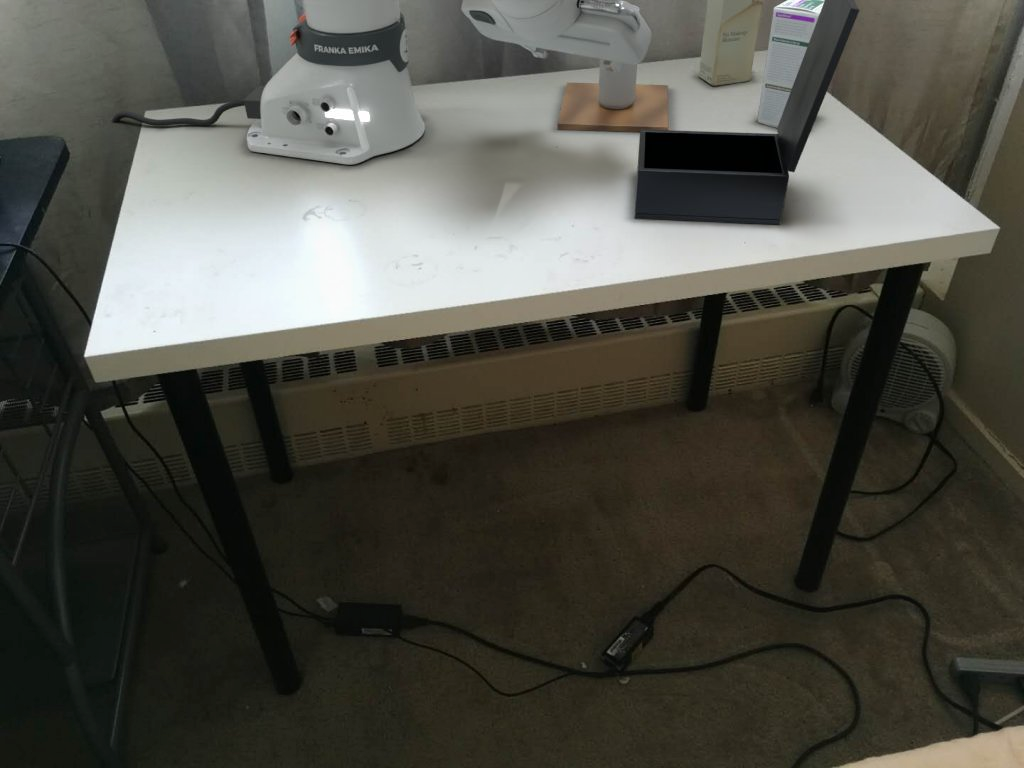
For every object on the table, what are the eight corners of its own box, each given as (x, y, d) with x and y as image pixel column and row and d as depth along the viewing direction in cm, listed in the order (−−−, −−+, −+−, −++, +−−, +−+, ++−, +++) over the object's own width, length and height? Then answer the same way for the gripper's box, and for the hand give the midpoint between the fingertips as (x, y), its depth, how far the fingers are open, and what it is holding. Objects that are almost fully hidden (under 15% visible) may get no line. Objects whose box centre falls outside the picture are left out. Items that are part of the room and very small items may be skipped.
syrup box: (798, 133, 107) (822, 12, 98) (754, 122, 110) (773, 4, 101) (816, 118, 111) (841, -1, 101) (773, 108, 114) (793, -8, 104)
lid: (851, 8, 76) (859, 9, 76) (833, -25, 84) (841, -23, 84) (786, 171, 87) (794, 172, 87) (776, 128, 94) (783, 130, 94)
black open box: (634, 218, 92) (638, 170, 89) (636, 175, 100) (640, 129, 96) (779, 225, 90) (789, 176, 87) (770, 180, 98) (779, 133, 95)
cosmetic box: (712, 87, 120) (724, -5, 112) (696, 76, 123) (707, -14, 115) (752, 80, 121) (766, -11, 113) (735, 70, 124) (748, -20, 116)
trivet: (557, 129, 110) (557, 123, 110) (566, 87, 121) (566, 82, 120) (667, 133, 108) (668, 127, 108) (667, 90, 119) (668, 84, 119)
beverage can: (604, 94, 116) (608, 1, 109) (638, 99, 115) (645, 5, 107) (593, 108, 113) (596, 13, 105) (628, 112, 112) (634, 16, 104)
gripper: (643, -23, 84) (670, 47, 97) (467, -47, 92) (513, 21, 105) (622, 37, 84) (651, 100, 97) (447, 8, 92) (496, 69, 105)
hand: (578, 58), depth 101 cm, fingers open, 8 cm apart
